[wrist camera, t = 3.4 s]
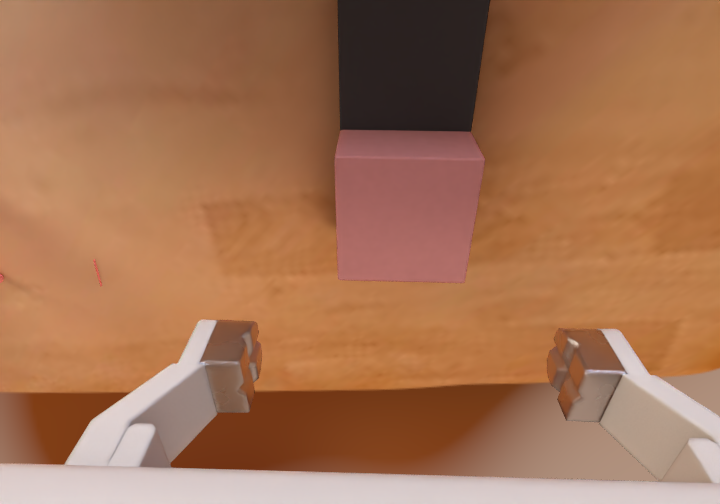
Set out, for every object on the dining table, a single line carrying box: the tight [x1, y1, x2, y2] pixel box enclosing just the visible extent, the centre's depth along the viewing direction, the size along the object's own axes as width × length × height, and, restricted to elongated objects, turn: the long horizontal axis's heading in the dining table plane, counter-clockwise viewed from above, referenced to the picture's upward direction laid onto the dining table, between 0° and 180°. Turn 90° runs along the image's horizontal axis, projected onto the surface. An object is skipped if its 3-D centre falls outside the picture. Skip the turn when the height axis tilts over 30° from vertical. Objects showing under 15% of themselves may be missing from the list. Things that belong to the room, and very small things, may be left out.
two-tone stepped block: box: [334, 0, 490, 283], centre depth 18 cm, size 11×5×4 cm, turn 0°
